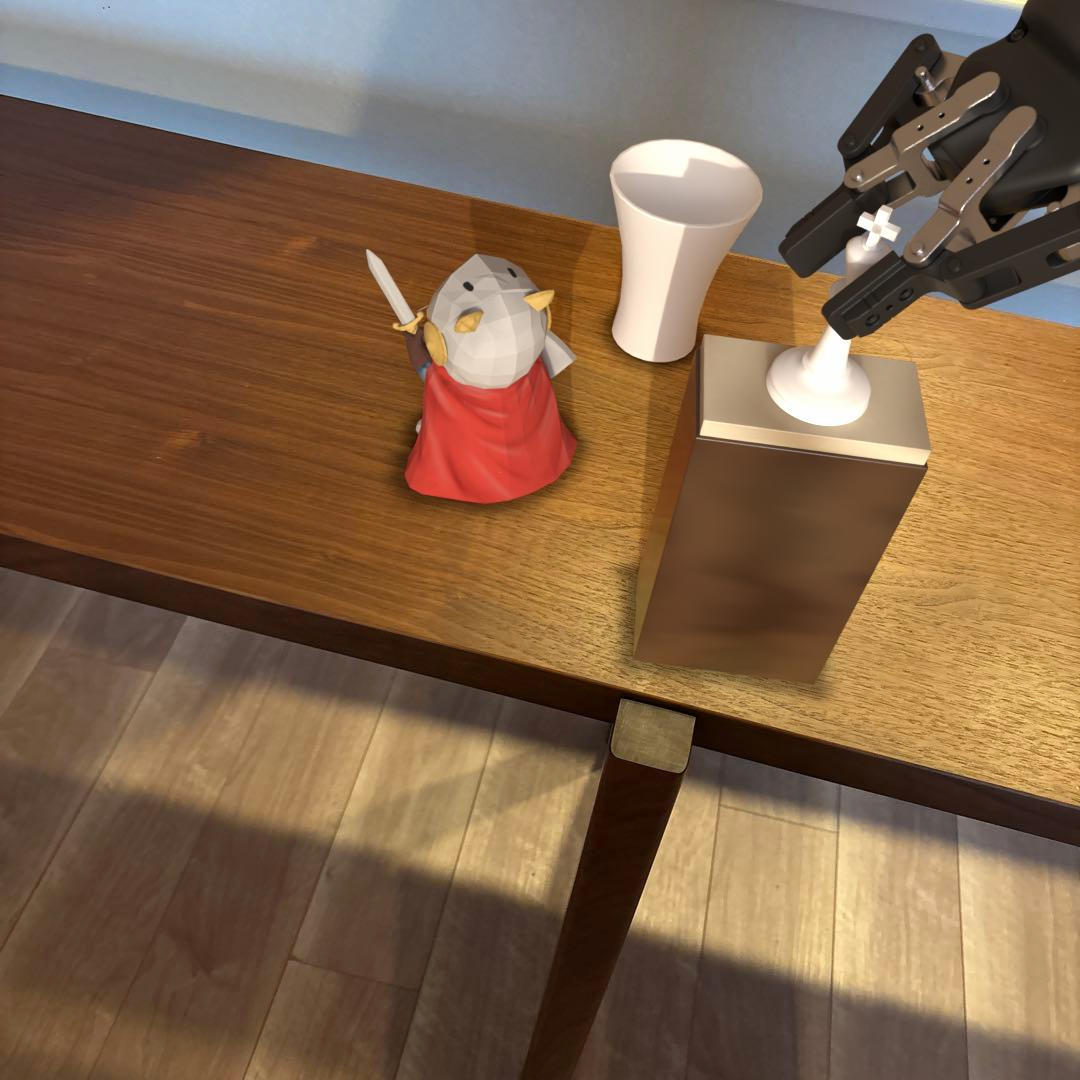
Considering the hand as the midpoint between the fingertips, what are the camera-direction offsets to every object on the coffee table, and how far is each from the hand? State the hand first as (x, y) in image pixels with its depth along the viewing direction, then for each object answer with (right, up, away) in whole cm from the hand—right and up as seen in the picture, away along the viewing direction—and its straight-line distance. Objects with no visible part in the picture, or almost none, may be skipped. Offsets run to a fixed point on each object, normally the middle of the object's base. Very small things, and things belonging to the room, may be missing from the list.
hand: (812, 293), depth 48 cm
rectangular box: (0, -16, +21) cm, 26 cm away
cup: (-3, +5, +38) cm, 38 cm away
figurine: (-16, -4, +29) cm, 33 cm away
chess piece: (+1, -4, +5) cm, 7 cm away
